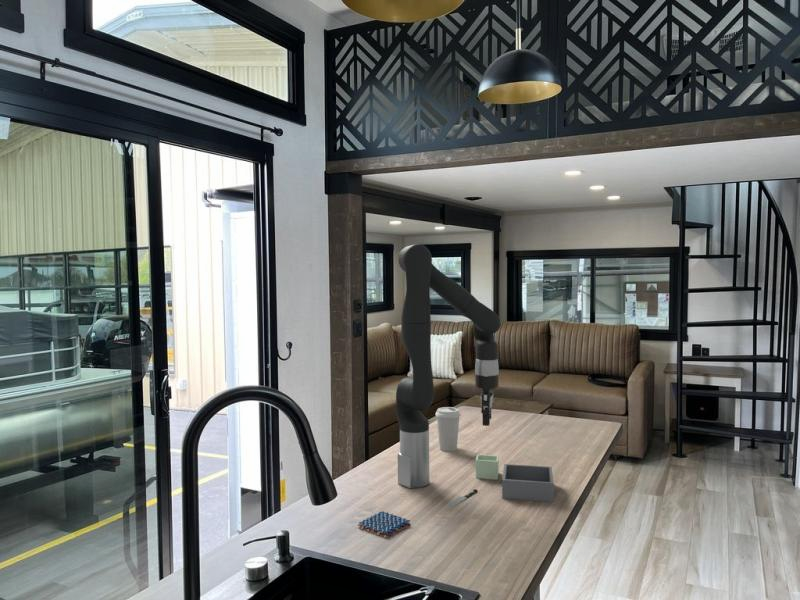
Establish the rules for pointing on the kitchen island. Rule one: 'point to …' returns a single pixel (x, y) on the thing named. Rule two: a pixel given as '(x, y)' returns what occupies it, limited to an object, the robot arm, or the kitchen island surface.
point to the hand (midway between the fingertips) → (487, 422)
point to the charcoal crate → (527, 482)
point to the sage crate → (487, 466)
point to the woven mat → (384, 524)
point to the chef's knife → (459, 500)
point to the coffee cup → (448, 427)
